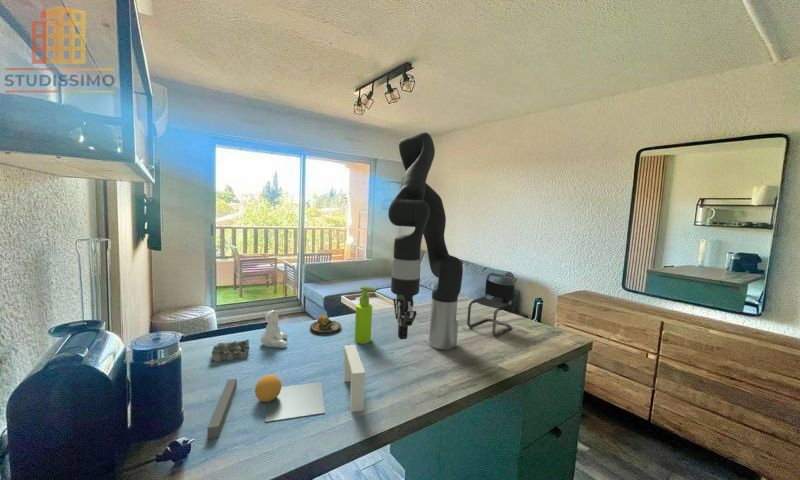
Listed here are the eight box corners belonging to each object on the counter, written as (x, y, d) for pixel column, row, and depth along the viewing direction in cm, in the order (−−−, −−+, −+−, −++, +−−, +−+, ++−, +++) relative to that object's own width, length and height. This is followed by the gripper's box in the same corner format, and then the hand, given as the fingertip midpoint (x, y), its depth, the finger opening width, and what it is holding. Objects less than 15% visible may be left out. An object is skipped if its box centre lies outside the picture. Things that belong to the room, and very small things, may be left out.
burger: (345, 332, 119) (345, 314, 118) (315, 338, 113) (315, 318, 112) (334, 322, 129) (334, 305, 128) (306, 327, 123) (306, 309, 122)
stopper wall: (236, 387, 80) (236, 378, 80) (218, 437, 63) (218, 426, 63) (228, 388, 79) (228, 379, 79) (207, 439, 62) (207, 427, 62)
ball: (273, 395, 79) (287, 377, 79) (269, 411, 73) (285, 391, 74) (252, 384, 78) (267, 365, 78) (247, 400, 72) (263, 379, 72)
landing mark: (321, 382, 84) (321, 382, 84) (325, 413, 72) (325, 412, 72) (270, 388, 80) (270, 388, 80) (264, 422, 68) (264, 421, 68)
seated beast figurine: (287, 348, 103) (287, 314, 102) (259, 351, 100) (259, 316, 99) (287, 337, 112) (287, 305, 111) (261, 339, 109) (261, 306, 108)
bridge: (353, 377, 88) (355, 344, 87) (363, 410, 74) (365, 372, 73) (343, 378, 87) (344, 345, 86) (351, 412, 73) (352, 373, 72)
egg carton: (210, 364, 91) (209, 351, 91) (214, 353, 98) (213, 341, 98) (248, 359, 95) (248, 346, 95) (250, 348, 102) (250, 337, 102)
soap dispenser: (370, 344, 109) (373, 290, 107) (352, 342, 110) (354, 288, 108) (375, 338, 115) (377, 286, 113) (357, 335, 116) (359, 284, 114)
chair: (514, 327, 133) (518, 278, 130) (493, 338, 121) (498, 283, 118) (487, 319, 142) (491, 272, 140) (466, 327, 130) (469, 276, 128)
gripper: (428, 280, 76) (424, 347, 78) (410, 269, 89) (407, 327, 90) (399, 281, 74) (396, 350, 75) (385, 270, 86) (382, 329, 88)
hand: (402, 337), depth 83 cm, fingers closed
